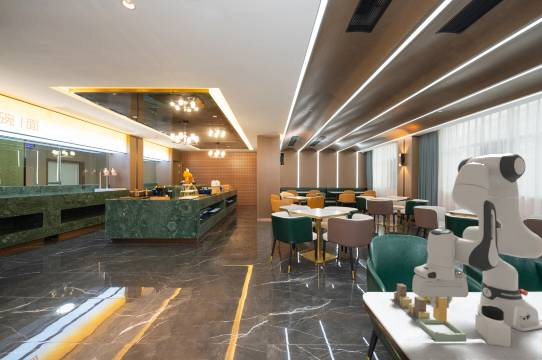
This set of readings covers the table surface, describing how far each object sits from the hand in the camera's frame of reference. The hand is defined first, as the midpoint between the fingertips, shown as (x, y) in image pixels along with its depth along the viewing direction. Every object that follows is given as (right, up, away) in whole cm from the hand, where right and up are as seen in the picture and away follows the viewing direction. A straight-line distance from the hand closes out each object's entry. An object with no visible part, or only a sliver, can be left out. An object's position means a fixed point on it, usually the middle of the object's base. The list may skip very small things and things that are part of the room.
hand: (439, 307), depth 90 cm
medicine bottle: (+17, -11, -3) cm, 20 cm away
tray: (0, -10, 0) cm, 10 cm away
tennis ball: (+12, -11, +25) cm, 29 cm away
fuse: (0, -5, 0) cm, 5 cm away
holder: (-3, -10, +15) cm, 18 cm away
